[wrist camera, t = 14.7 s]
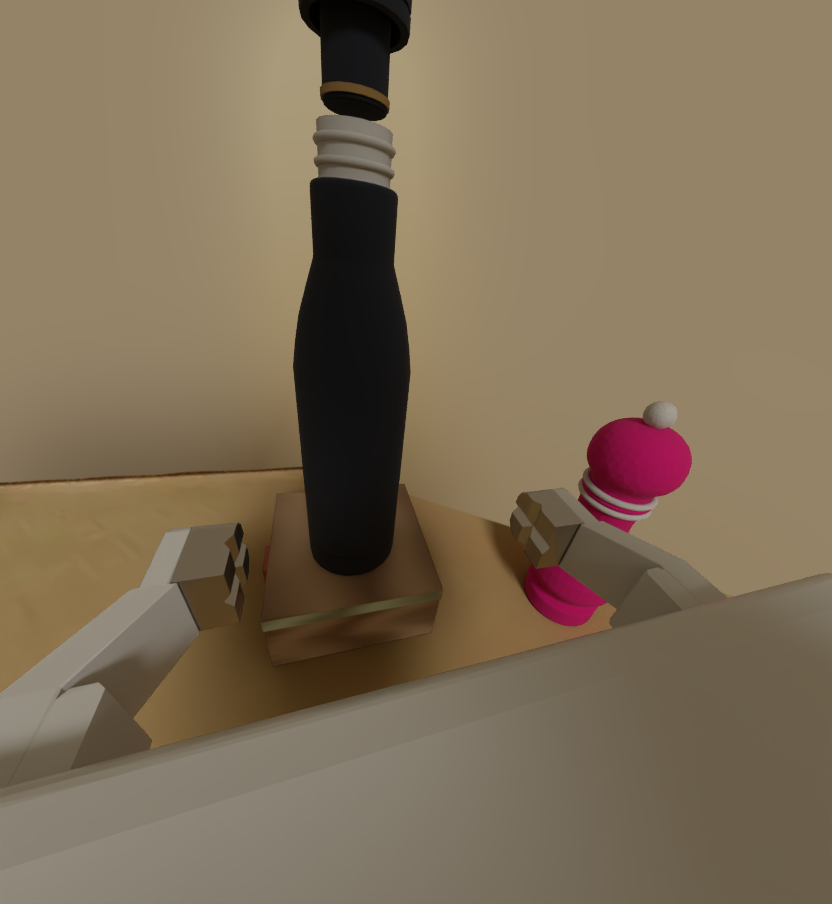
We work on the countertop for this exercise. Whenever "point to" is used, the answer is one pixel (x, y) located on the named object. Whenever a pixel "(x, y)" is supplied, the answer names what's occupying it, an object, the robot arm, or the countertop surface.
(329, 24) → the black bottle
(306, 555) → the wooden box
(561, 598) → the pepper mill
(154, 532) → the countertop surface
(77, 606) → the countertop surface
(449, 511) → the countertop surface
